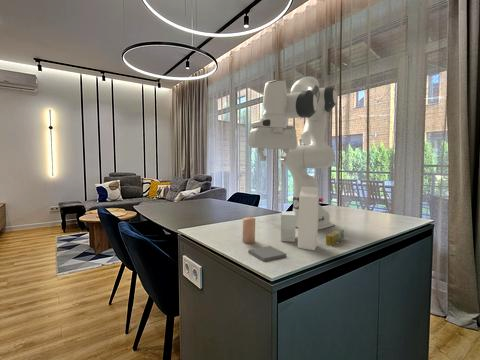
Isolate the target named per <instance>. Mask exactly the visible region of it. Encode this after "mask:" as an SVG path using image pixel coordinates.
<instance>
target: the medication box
mask: <svg viewBox="0 0 480 360" xmlns="http://www.w3.org/2000/svg"><path fill="white" fill-rule="evenodd" d="M342 239H345V233H344V229H338V228H337V229H336V230H334V231H332V232H330V233H328V234H326V235H325V243H326V244H327V245H326V246H329V245H334V244H336V243H337V242H339V241H341V240H342ZM342 241H343V240H342ZM342 241H341V242H342ZM339 243H340V242H339ZM337 244H338V243H337ZM337 244H336V245H337ZM334 246H335V245H334Z"/></svg>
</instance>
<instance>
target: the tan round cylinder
mask: <svg viewBox="0 0 480 360" xmlns="http://www.w3.org/2000/svg"><path fill="white" fill-rule="evenodd" d="M255 242H256V218H255V217H252V216H250V217H247V216H245V217H243V218H242V243H244V244H254V243H255Z"/></svg>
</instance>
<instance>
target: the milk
mask: <svg viewBox="0 0 480 360" xmlns="http://www.w3.org/2000/svg"><path fill="white" fill-rule="evenodd" d="M319 198H320V195H319V189H318V188H317V187H301V192H300V195H299V218H298V228H297V249H302V250H310V251H315V250H316V248H317V246H318V233H319V232H318V231H319V230H318V204H319V203H320V202H319ZM319 205H320V204H319Z"/></svg>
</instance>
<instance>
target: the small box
mask: <svg viewBox="0 0 480 360" xmlns="http://www.w3.org/2000/svg"><path fill="white" fill-rule="evenodd" d="M295 225H296V214H295V212H292V211H284V210H283V211H281V215H280V242H290V243H291V242H292V243H294V242H296V227H295Z"/></svg>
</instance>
